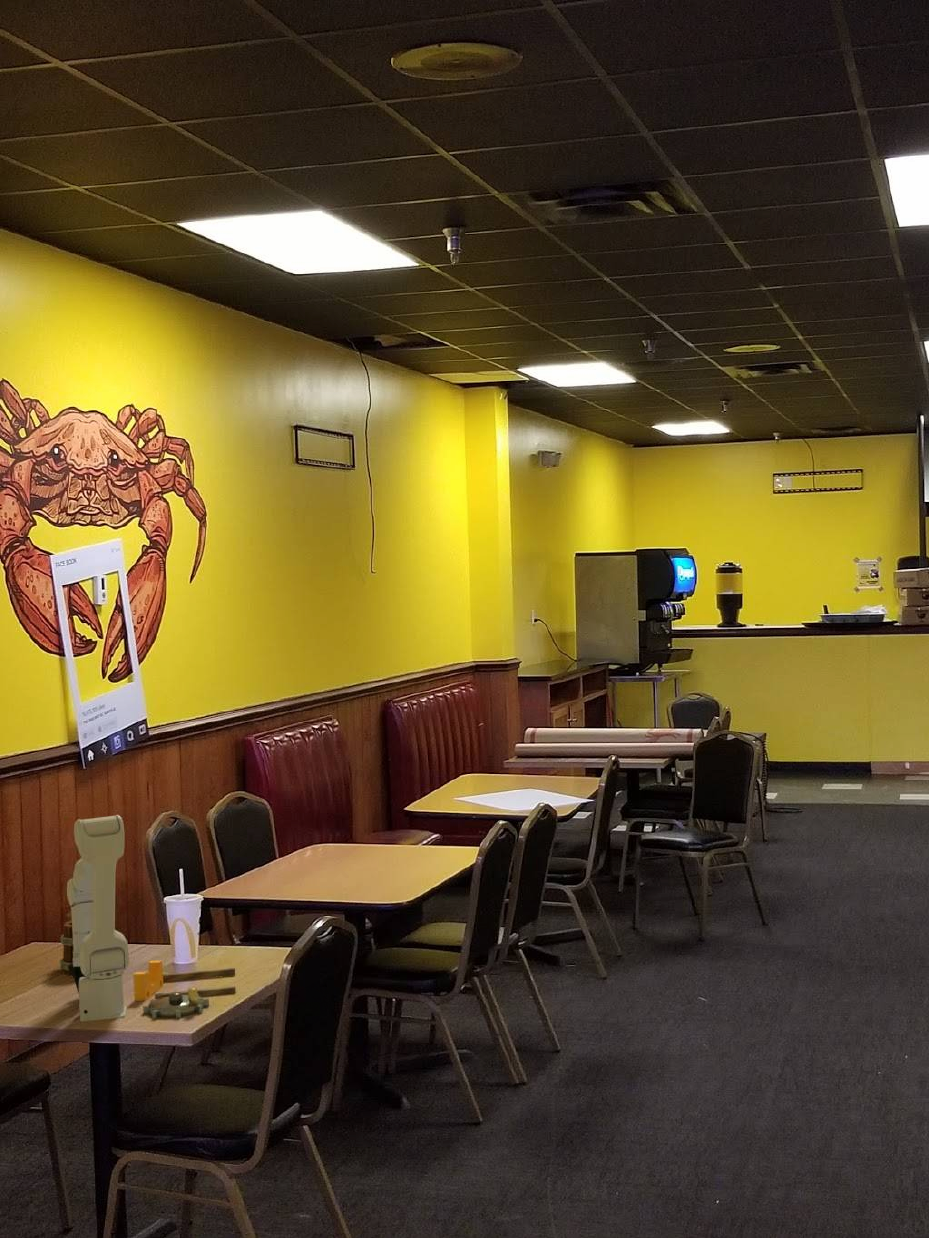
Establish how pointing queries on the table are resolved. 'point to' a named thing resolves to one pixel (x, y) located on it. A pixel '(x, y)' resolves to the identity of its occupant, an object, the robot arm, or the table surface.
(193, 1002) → the sprocket
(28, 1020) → the table surface
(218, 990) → the guide rails
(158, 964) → the pipe clamp
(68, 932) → the mug
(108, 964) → the robot arm
